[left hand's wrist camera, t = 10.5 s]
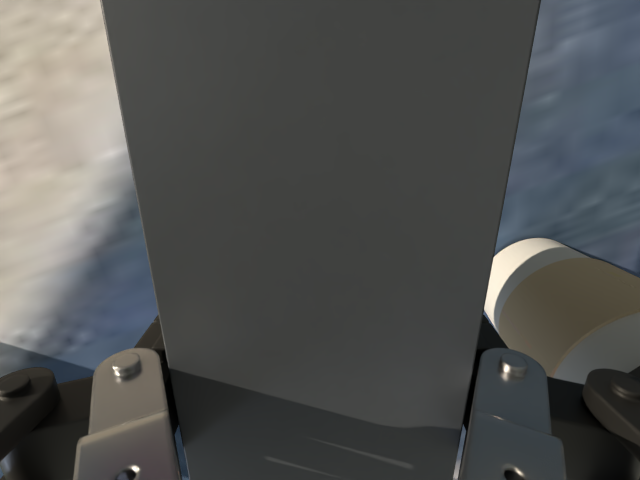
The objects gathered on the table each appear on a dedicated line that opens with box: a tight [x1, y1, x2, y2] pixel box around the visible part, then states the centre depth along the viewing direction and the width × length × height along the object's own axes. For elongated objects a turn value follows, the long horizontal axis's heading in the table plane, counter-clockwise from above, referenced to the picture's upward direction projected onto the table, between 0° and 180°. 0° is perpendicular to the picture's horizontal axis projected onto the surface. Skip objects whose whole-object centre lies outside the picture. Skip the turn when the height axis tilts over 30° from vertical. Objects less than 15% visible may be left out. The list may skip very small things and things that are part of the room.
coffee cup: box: [484, 238, 640, 479], centre depth 19 cm, size 9×9×15 cm
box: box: [100, 0, 541, 480], centre depth 10 cm, size 20×6×10 cm, turn 0°
